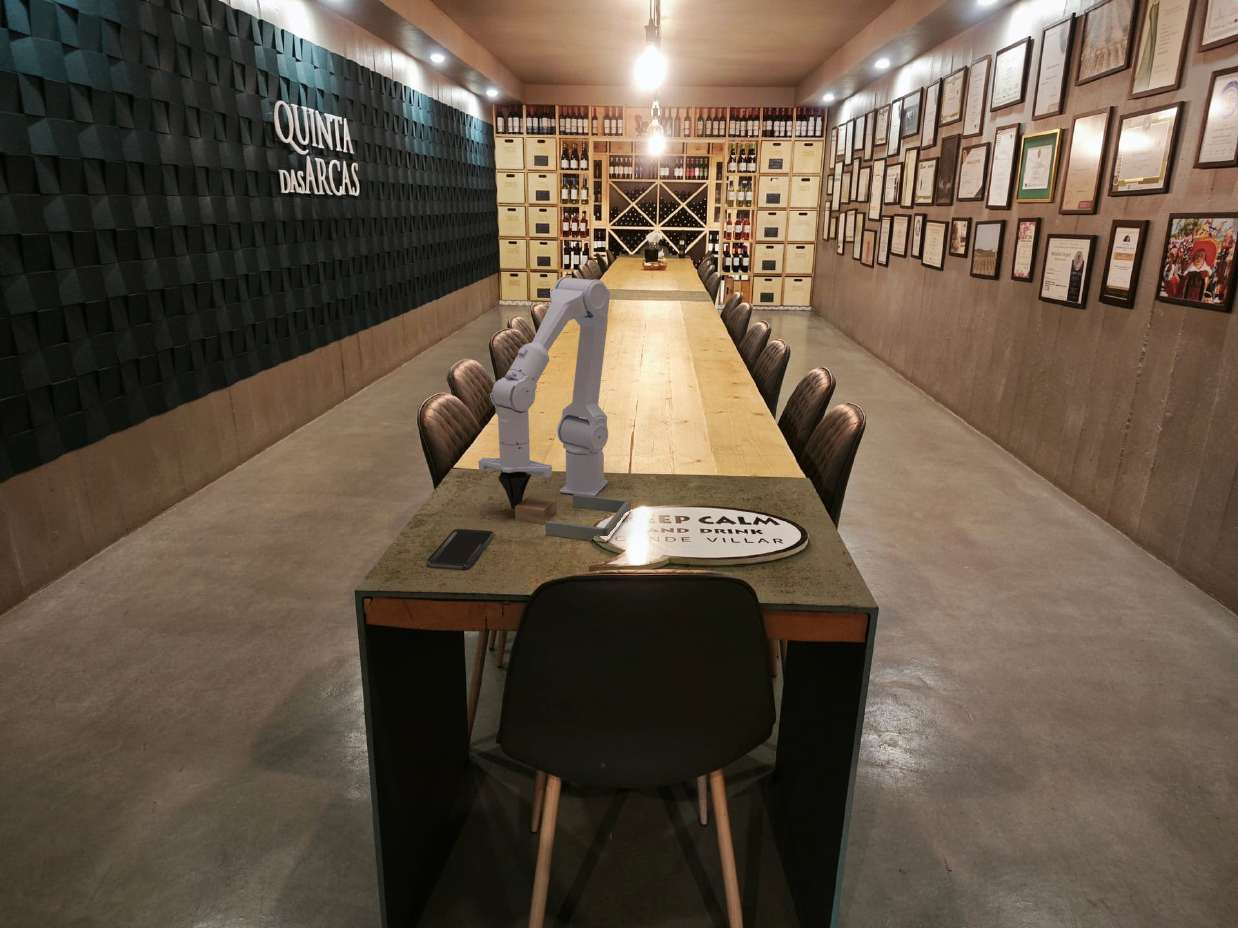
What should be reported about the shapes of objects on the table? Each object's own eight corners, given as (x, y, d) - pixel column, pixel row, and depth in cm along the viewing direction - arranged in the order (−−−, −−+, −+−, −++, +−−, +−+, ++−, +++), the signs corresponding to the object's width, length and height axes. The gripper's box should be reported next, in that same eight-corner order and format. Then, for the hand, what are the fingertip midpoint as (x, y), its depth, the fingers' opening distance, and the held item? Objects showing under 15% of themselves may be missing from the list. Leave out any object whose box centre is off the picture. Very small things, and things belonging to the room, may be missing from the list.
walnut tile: (529, 510, 156) (528, 496, 156) (556, 514, 155) (556, 499, 154) (515, 520, 151) (514, 506, 150) (543, 525, 149) (543, 510, 148)
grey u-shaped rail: (574, 505, 159) (574, 494, 158) (630, 512, 155) (630, 500, 155) (545, 534, 144) (545, 522, 144) (606, 542, 141) (606, 530, 140)
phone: (424, 563, 131) (454, 528, 145) (424, 569, 131) (455, 533, 145) (469, 566, 130) (496, 531, 144) (470, 572, 130) (496, 536, 144)
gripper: (469, 443, 148) (473, 510, 152) (541, 450, 144) (543, 519, 148) (486, 433, 154) (489, 498, 158) (555, 440, 150) (556, 506, 154)
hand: (516, 507), depth 153 cm, fingers closed
